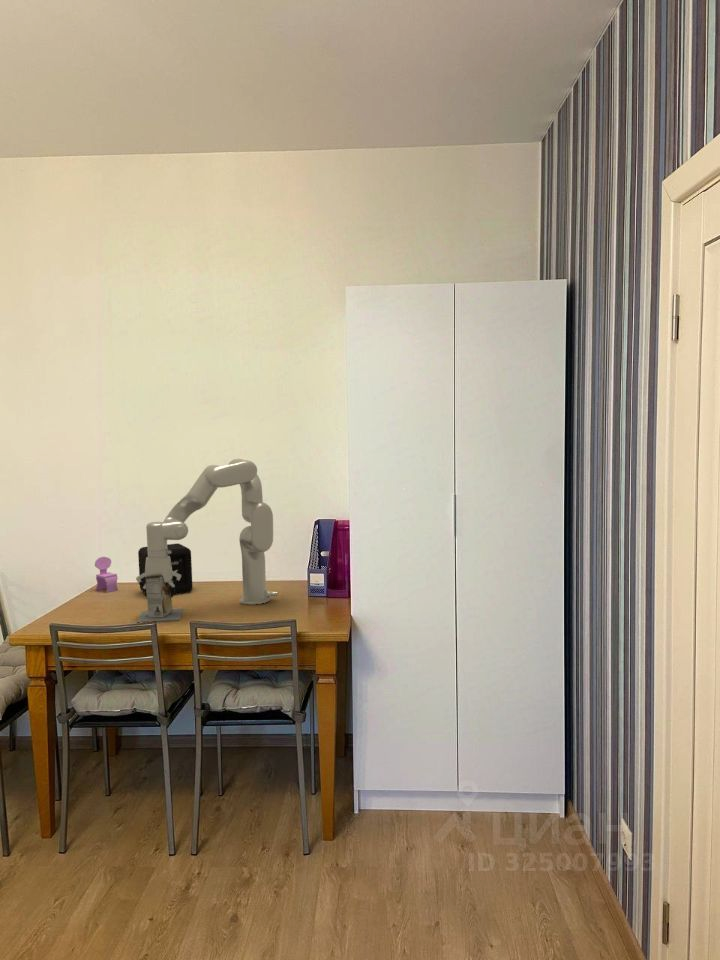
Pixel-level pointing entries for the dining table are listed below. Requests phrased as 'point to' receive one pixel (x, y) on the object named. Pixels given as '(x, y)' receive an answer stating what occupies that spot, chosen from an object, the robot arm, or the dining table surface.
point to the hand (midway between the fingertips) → (159, 597)
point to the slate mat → (172, 616)
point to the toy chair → (105, 575)
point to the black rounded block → (173, 566)
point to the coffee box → (158, 596)
